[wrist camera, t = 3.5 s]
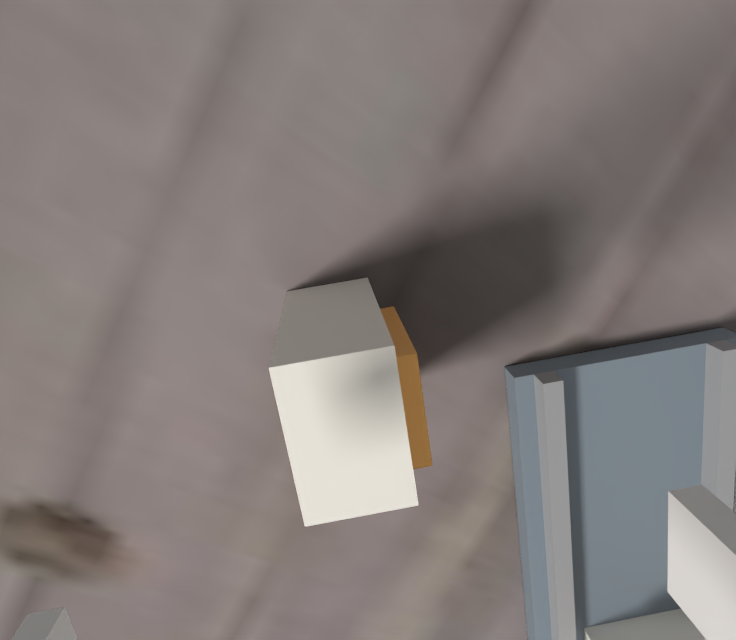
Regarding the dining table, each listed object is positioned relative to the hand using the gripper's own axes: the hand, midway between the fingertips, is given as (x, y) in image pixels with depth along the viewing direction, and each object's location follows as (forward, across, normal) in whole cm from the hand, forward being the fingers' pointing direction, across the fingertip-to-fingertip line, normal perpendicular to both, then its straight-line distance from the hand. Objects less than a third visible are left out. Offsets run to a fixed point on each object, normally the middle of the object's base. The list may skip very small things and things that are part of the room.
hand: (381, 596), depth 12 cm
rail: (+17, +14, -14) cm, 26 cm away
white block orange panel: (+16, 0, 0) cm, 17 cm away
